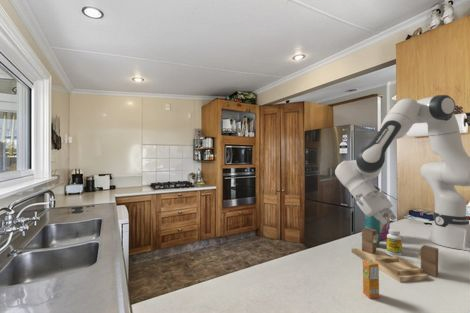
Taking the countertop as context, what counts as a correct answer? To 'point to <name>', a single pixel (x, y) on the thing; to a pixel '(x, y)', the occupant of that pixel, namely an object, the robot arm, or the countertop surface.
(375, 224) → the beverage bottle
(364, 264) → the supplement box
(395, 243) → the supplement bottle
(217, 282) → the countertop surface
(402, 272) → the wooden tray stand
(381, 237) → the candy bar box
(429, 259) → the brown block
